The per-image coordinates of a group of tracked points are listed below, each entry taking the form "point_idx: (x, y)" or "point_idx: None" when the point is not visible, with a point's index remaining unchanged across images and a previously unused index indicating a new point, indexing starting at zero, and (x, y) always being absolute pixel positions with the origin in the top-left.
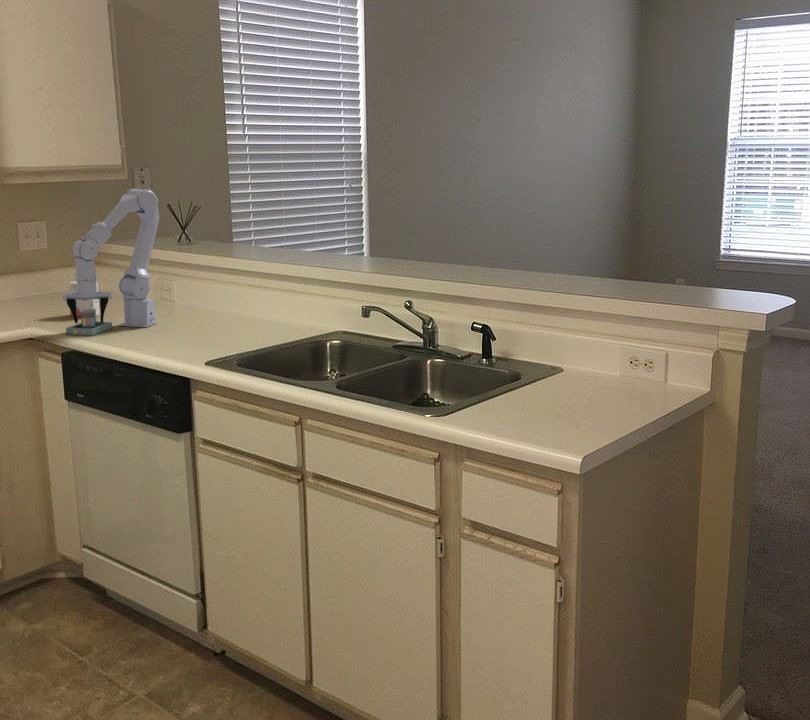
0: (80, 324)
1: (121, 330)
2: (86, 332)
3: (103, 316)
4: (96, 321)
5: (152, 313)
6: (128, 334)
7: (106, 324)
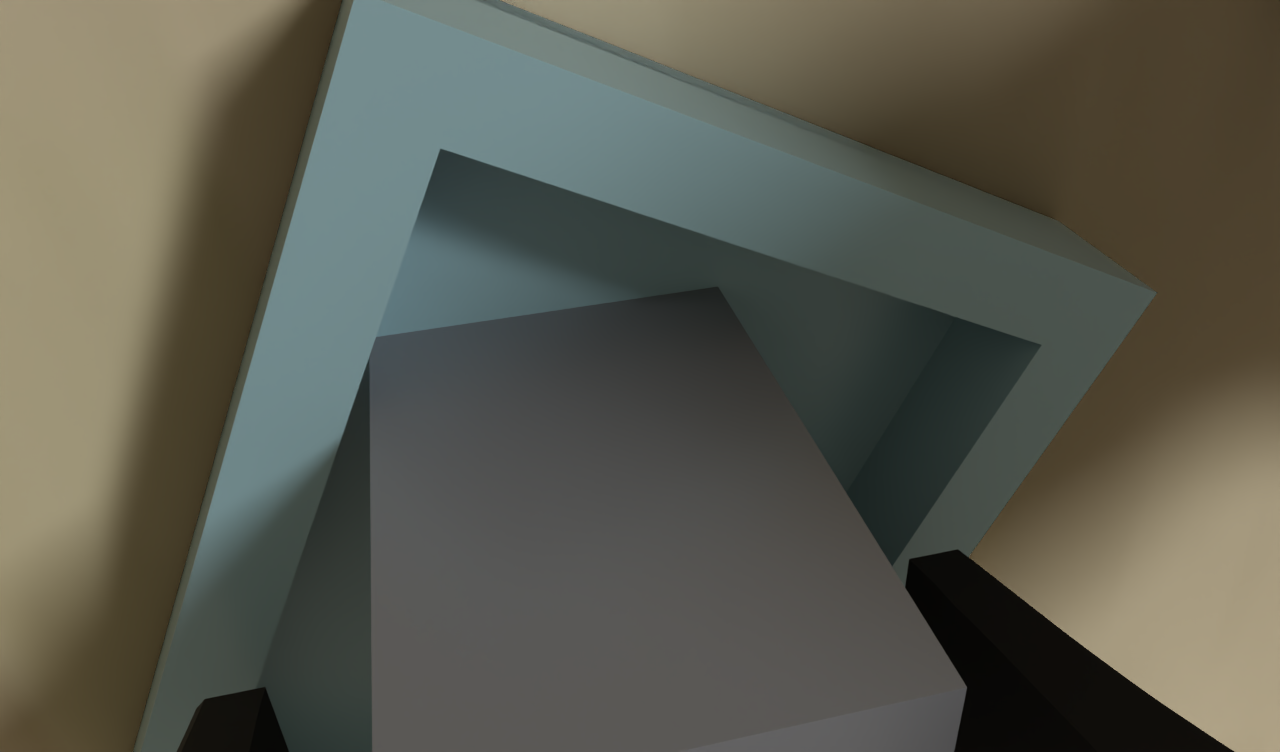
0: (311, 513)
1: (1183, 417)
2: None
3: (1048, 643)
4: (772, 398)
5: None
6: (1200, 679)
7: (987, 525)
